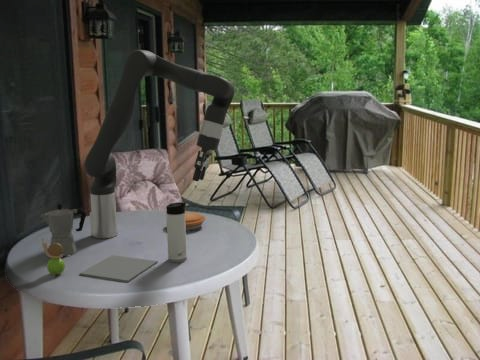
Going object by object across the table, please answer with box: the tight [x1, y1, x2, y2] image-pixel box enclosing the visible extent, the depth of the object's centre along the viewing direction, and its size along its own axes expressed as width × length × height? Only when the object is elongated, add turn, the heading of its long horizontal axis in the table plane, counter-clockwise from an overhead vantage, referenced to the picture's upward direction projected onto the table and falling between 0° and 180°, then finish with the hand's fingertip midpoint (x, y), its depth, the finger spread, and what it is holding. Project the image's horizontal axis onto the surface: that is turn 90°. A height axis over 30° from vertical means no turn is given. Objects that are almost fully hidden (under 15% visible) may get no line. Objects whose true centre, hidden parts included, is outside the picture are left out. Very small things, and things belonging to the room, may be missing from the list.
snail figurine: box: [41, 237, 66, 276], centre depth 172 cm, size 5×6×12 cm
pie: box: [185, 212, 206, 232], centre depth 223 cm, size 16×16×5 cm
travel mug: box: [165, 201, 188, 264], centre depth 183 cm, size 6×7×20 cm
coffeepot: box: [39, 203, 87, 257], centre depth 192 cm, size 15×9×18 cm, turn 115°
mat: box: [79, 254, 159, 283], centre depth 177 cm, size 18×18×1 cm
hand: (197, 180), depth 189 cm, fingers open, 8 cm apart
